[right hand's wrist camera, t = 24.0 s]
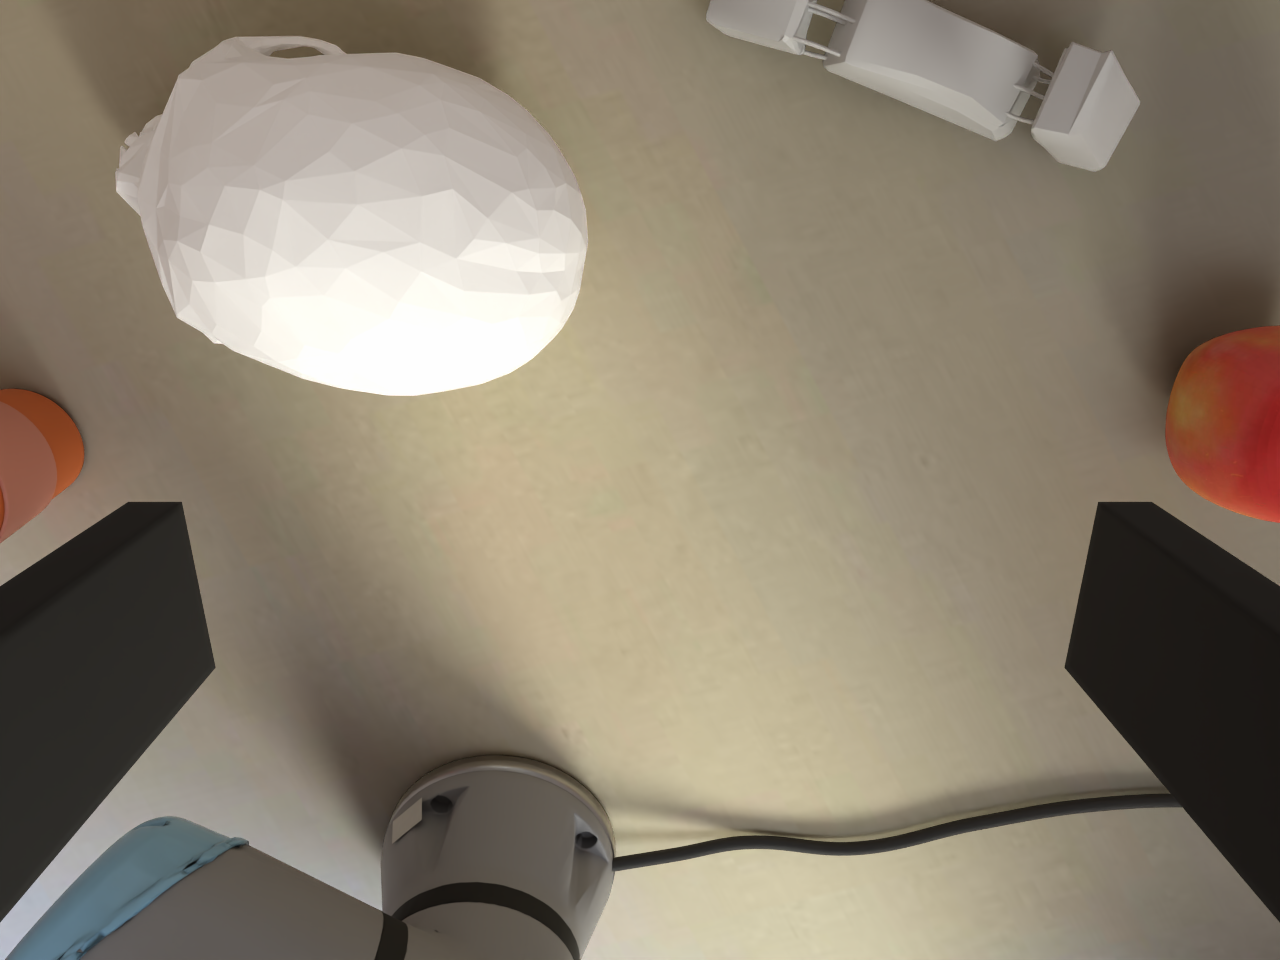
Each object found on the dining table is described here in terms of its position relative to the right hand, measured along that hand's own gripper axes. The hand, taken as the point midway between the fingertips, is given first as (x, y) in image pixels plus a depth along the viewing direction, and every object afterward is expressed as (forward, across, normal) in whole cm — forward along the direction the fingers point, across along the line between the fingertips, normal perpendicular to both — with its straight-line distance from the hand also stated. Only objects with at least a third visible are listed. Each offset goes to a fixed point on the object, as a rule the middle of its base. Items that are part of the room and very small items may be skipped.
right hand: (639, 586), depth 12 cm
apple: (+34, -31, +6) cm, 46 cm away
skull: (+34, +13, -4) cm, 36 cm away
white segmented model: (+34, -13, -10) cm, 38 cm away
